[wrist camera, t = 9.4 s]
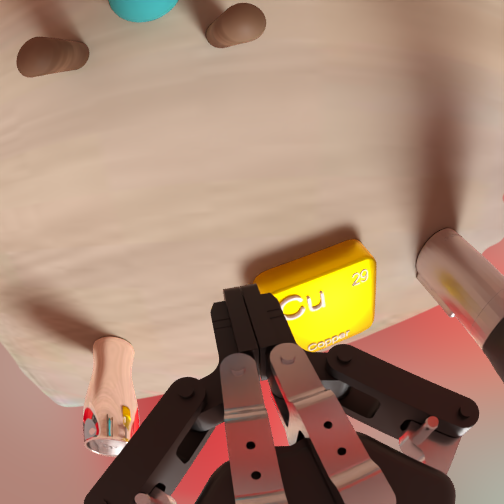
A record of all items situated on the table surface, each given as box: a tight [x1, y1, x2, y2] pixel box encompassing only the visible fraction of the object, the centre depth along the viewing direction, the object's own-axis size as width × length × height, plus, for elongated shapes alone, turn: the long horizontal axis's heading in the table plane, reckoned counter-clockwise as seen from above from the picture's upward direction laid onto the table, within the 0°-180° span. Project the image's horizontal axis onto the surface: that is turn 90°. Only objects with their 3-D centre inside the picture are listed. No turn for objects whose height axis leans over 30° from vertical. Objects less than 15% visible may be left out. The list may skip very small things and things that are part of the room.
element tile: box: [253, 239, 376, 352], centre depth 40 cm, size 15×15×5 cm
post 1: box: [17, 37, 89, 77], centre depth 16 cm, size 3×3×9 cm
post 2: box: [206, 3, 266, 48], centre depth 18 cm, size 3×3×9 cm
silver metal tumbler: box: [83, 336, 139, 457], centre depth 33 cm, size 7×7×15 cm
